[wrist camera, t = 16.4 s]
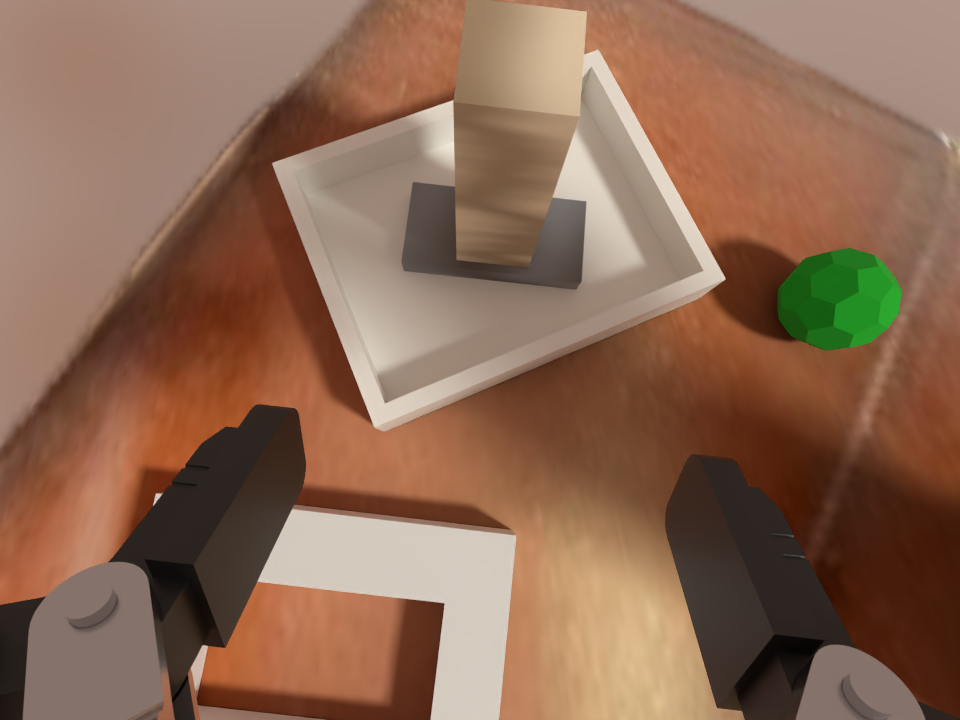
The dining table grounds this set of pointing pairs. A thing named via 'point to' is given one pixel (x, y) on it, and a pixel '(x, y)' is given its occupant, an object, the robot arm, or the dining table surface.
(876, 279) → the polyhedron
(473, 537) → the slot plate
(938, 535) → the dining table surface
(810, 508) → the dining table surface
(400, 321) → the tray
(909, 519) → the dining table surface
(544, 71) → the wooden post on base
